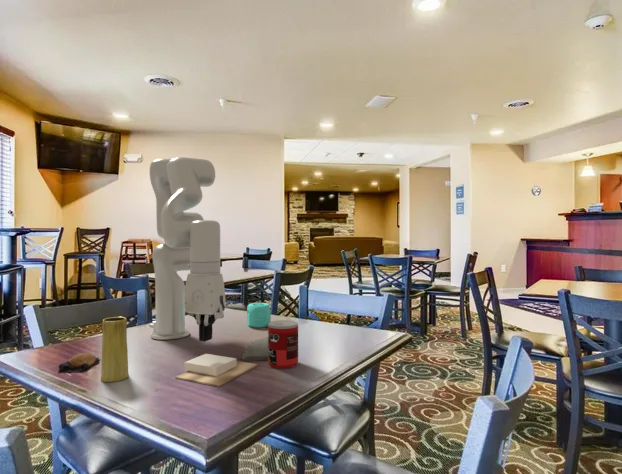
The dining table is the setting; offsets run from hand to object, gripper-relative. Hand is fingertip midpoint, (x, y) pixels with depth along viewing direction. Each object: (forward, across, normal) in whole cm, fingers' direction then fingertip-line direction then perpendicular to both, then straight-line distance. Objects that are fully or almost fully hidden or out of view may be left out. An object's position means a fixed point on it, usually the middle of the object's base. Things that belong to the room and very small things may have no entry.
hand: (205, 339), depth 101 cm
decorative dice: (+8, -15, +48) cm, 51 cm away
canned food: (+8, +16, +12) cm, 22 cm away
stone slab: (+8, +3, +22) cm, 23 cm away
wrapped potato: (+8, -32, -12) cm, 35 cm away
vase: (+8, -16, -14) cm, 23 cm away
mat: (+8, +4, 0) cm, 9 cm away
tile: (+6, -3, 0) cm, 7 cm away
